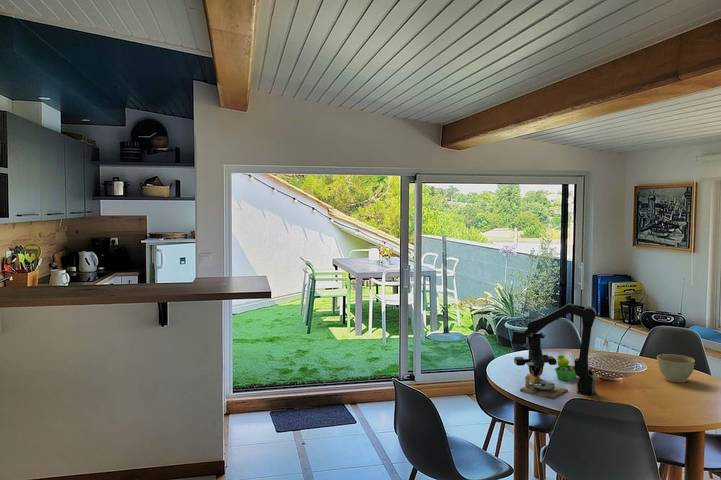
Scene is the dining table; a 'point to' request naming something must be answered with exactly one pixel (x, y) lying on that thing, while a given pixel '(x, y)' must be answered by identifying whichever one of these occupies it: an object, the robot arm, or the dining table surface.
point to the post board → (544, 391)
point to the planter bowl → (675, 367)
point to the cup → (538, 372)
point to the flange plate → (537, 383)
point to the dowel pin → (527, 381)
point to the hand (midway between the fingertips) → (535, 378)
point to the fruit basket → (565, 369)
